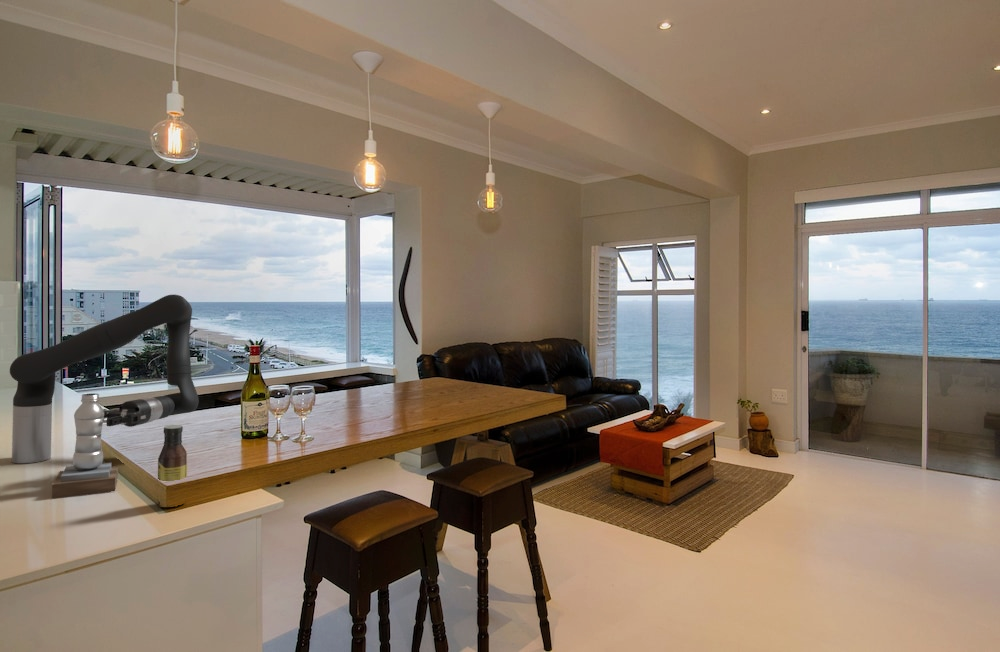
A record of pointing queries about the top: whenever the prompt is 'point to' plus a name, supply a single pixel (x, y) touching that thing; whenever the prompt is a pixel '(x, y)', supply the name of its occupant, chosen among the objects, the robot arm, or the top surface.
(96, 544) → the top surface
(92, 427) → the silver bottle
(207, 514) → the top surface
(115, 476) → the plinth
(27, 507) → the top surface
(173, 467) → the sauce bottle
